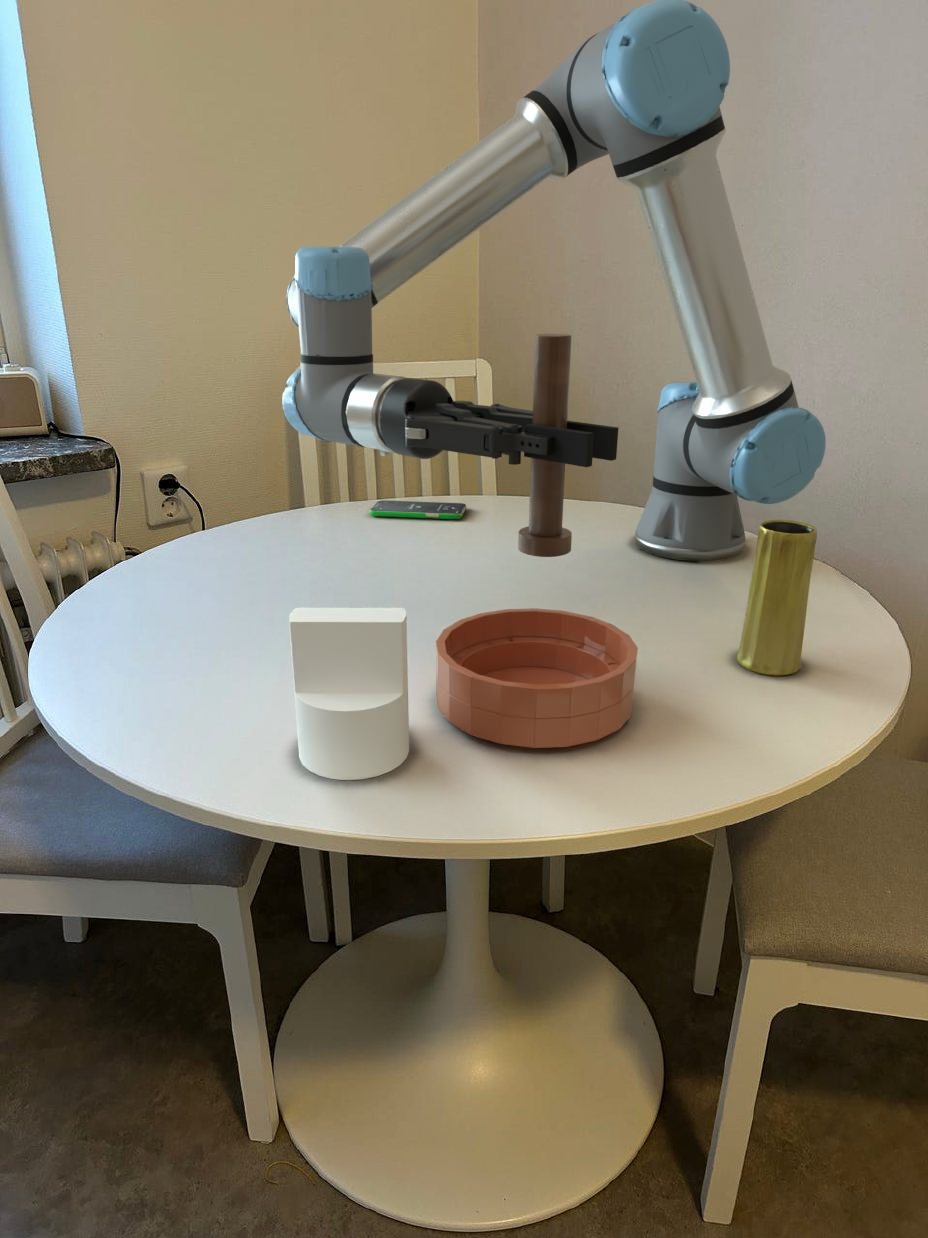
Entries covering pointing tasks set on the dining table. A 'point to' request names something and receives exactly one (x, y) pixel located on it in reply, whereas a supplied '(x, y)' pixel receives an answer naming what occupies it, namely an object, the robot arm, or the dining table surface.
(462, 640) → the bowl
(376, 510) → the smartphone
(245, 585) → the dining table surface
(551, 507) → the brown peg
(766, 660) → the vase
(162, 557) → the dining table surface
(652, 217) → the robot arm
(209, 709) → the dining table surface
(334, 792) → the dining table surface
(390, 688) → the base with upright slab
